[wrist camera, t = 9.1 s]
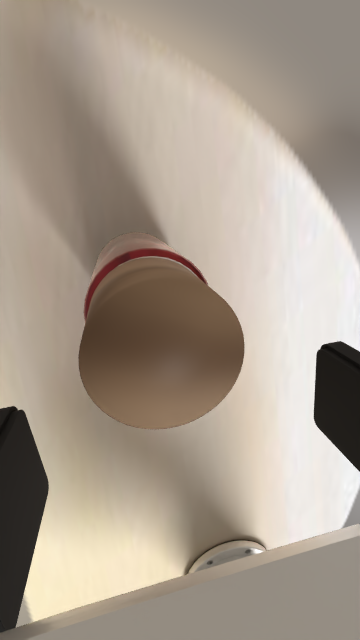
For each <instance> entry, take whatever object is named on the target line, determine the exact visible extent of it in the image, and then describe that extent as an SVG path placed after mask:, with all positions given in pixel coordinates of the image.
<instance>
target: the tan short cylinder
mask: <svg viewBox="0 0 360 640" xmlns="http://www.w3.org/2000/svg"><path fill="white" fill-rule="evenodd" d="M243 358H244V337H243V332H242V328H241V325H240V323H239V320H238V318H237V316H236V315H235V313H234V311H233V310H232V308H231V307H230V306H229V305H228V303H227V302H226V301H225V300H224V299H223V298H222V297H220V296H219V295H218V294H217V293H216V292H215V291H213V290H212V289H211V288H210V287H209V286H207V285H206V284H205V283H204V282H203V281H202V280H200V279H199V278H198V277H197V276H196V275H194V274H193V273H192V272H191V271H190V270H188V269H187V268H185V267H184V266H183V265H181V264H179V263H177V262H174V261H171V260H168V259H164V258H158V257H146V258H139V259H134V260H131V261H128V262H126V263H124V264H122V265H120V266H118V267H116V268H115V269H113V270H112V271H111V272H110V273H108V274H107V275H106V276H105V277H104V278H103V280H102V281H101V282H100V283H99V285H98V286H97V288H96V290H95V292H94V294H93V296H92V299H91V302H90V306H89V310H88V314H87V319H86V323H85V327H84V331H83V335H82V340H81V344H80V350H79V370H80V376H81V379H82V382H83V385H84V387H85V389H86V391H87V393H88V395H89V396H90V398H91V399H92V400H93V402H94V403H95V404H96V405H97V406H98V407H99V408H100V409H101V410H102V411H103V412H105V413H106V414H107V415H108V416H110V417H112V418H114V419H115V420H117V421H119V422H122V423H124V424H126V425H130V426H133V427H138V428H144V429H166V428H172V427H177V426H180V425H184V424H186V423H189V422H191V421H194V420H196V419H198V418H200V417H202V416H203V415H205V414H206V413H208V412H209V411H211V410H212V409H213V408H214V407H216V406H217V405H218V404H219V403H220V402H221V401H222V400H223V399H224V398H225V397H226V395H227V394H228V393H229V391H230V390H231V389H232V387H233V385H234V384H235V382H236V380H237V378H238V375H239V373H240V370H241V367H242V364H243Z"/></svg>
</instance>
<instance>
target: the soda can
mask: <svg viewBox="0 0 360 640" xmlns="http://www.w3.org/2000/svg"><path fill="white" fill-rule="evenodd" d="M146 257H158V258H164V259H168V260H171V261H174V262H177V263H179V264H181V265H183V266H184V267H185V268H187V269H188V270H190V271H191V272H192V273H193V274H194V275H196V276H197V277H198V278H199V279H200V280H202V281H203V282H204V283H205V284H206V285H207V286H208V284H207V281H206V279H205V278H204V276H203V275H202V273H201V272H200V270H199V269H198V268H197V267H196V266H195V265H194V264H193V263H192V262H190V261H189V260H188V259H186V258H185V257H183V256H182V255H181V254H179V253H178V252H177V251H175V250H174V249H172V248H171V247H170V246H168V245H167V244H166V243H164V242H163V241H161V240H160V239H158V238H157V237H155V236H152V235H150V234H147V233H141V232H130V233H126V234H122V235H120V236H118V237H116V238H114V239H113V240H111V241H110V242H108V243H107V244H106V246H105V247H104V248H103V249H102V251H101V252H100V254H99V256H98V258H97V261H96V265H95V268H94V271H93V274H92V278H91V281H90V284H89V288H88V291H87V294H86V297H85V304H84V319H85V323H86V319H87V314H88V310H89V306H90V302H91V299H92V296H93V294H94V292H95V290H96V288H97V286H98V285H99V283H100V282H101V281H102V280H103V278H104V277H105V276H106V275H107V274H108V273H110V272H111V271H112V270H113V269H115V268H116V267H118V266H120V265H122V264H124V263H126V262H128V261H131V260H134V259H139V258H146Z"/></svg>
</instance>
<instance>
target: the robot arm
mask: <svg viewBox="0 0 360 640" xmlns="http://www.w3.org/2000/svg"><path fill="white" fill-rule="evenodd" d="M314 421H315V423H316V425H317V427H318V428H319V429H320V430H321V431H322V432H323V433H324V434H325V435H326V436H327V438H328V439H329V440H330V441H331V442H332V443H333V444H334V445H335V446H336V447H337V448H338V449H339V450H340V451H341V452H342V453H343V455H344V456H345V457H346V458H347V459H348V460H349V461H350V462H351V463H352V464H353V465H354V466H355V467H356V468H357V469H358V470H359V472H360V352H359V351H358V350H356V349H354V348H352V347H351V346H349V345H347V344H345V343H344V342H341V341H339V342H333V343H328V344H324V345H322V346H321V348H320V350H318V352H317V358H316V379H315V400H314ZM48 489H49V485H48V479H47V476H46V473H45V470H44V467H43V464H42V461H41V458H40V455H39V452H38V449H37V446H36V444H35V441H34V438H33V435H32V432H31V429H30V426H29V423H28V420H27V417H26V414H25V412H24V411H23V410H18V409H17V408H16V407H15V406H12V407H7V408H2V409H0V640H360V524H356V525H353V526H349V527H346V528H342V529H339V530H335V531H332V532H329V533H325V534H322V535H318V536H315V537H312V538H308V539H305V540H302V541H298V542H295V543H291V544H288V545H285V546H281V547H278V548H274V549H271V550H268V551H266V549H265V548H264V547H263V546H261V545H260V544H258V543H255V542H252V541H246V540H245V541H232V542H228V543H224V544H221V545H219V546H217V547H214V548H213V549H211V550H209V551H207V552H206V553H205V554H203V555H202V556H201V557H200V558H199V559H198V560H197V561H196V562H195V563H194V564H193V566H192V567H191V568H190V570H189V573H188V574H187V575H184V576H181V577H177V578H174V579H171V580H168V581H164V582H161V583H158V584H154V585H151V586H148V587H144V588H141V589H138V590H135V591H131V592H128V593H125V594H121V595H118V596H115V597H111V598H108V599H105V600H102V601H98V602H95V603H92V604H88V605H85V606H82V607H78V608H75V609H72V610H69V611H66V612H63V613H60V614H57V615H54V616H51V617H47V618H44V619H41V620H38V621H35V622H32V623H29V624H26V625H23V626H20V627H17V628H15V627H16V623H17V619H18V615H19V611H20V607H21V603H22V599H23V595H24V590H25V586H26V582H27V578H28V574H29V570H30V566H31V561H32V557H33V553H34V549H35V545H36V541H37V537H38V532H39V528H40V524H41V520H42V516H43V512H44V508H45V503H46V499H47V495H48Z"/></svg>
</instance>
